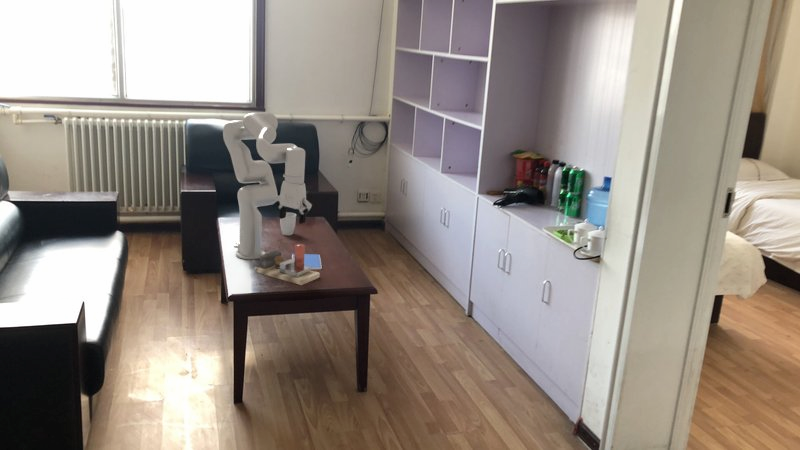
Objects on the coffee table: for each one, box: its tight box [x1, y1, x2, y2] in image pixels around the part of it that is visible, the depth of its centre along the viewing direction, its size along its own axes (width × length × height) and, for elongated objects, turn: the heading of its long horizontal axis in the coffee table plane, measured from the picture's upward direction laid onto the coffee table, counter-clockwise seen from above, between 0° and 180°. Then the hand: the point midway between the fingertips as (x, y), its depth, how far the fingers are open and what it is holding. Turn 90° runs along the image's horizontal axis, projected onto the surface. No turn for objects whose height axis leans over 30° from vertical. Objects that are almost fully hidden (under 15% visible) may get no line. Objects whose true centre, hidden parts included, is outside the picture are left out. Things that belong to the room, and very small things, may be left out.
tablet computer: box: [291, 253, 323, 271], centre depth 298 cm, size 19×13×1 cm, turn 9°
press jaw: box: [279, 243, 312, 277], centre depth 277 cm, size 9×9×12 cm
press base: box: [256, 250, 321, 286], centre depth 280 cm, size 23×12×7 cm, turn 60°
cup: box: [279, 212, 297, 236], centre depth 336 cm, size 8×8×10 cm
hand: (292, 220), depth 272 cm, fingers open, 9 cm apart
